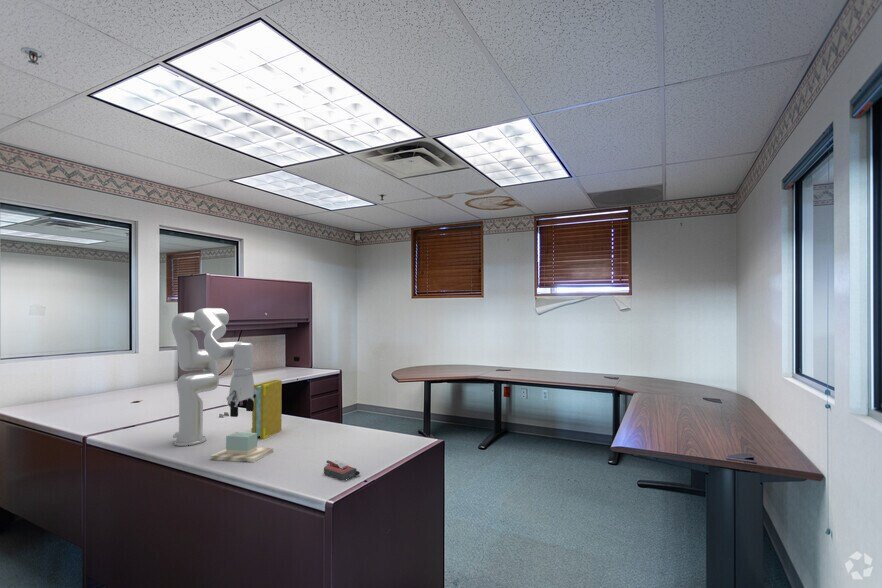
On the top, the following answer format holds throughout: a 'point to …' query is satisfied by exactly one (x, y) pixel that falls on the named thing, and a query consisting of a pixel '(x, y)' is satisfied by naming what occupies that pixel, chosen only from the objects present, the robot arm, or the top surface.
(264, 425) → the book
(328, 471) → the walkie-talkie
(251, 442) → the block
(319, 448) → the top surface
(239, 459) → the board
